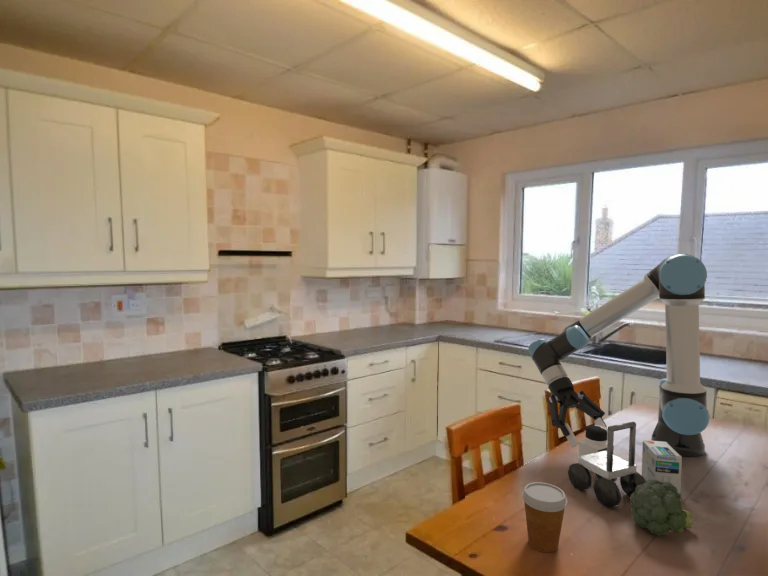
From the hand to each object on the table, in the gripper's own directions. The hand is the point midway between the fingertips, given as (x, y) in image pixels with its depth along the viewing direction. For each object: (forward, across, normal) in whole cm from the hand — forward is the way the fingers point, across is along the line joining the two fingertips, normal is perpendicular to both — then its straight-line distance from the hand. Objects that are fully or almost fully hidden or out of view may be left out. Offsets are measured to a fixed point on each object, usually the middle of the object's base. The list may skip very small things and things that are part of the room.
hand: (592, 442), depth 141 cm
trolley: (+15, +10, +5) cm, 19 cm away
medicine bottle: (+6, -1, -4) cm, 7 cm away
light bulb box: (+17, -8, +7) cm, 20 cm away
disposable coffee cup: (+23, +41, +13) cm, 49 cm away
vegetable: (+27, +12, +17) cm, 34 cm away
